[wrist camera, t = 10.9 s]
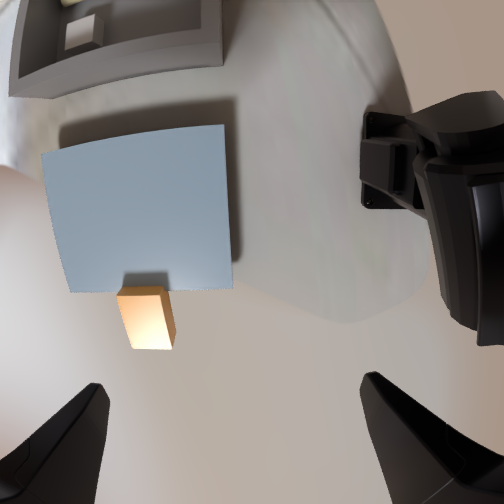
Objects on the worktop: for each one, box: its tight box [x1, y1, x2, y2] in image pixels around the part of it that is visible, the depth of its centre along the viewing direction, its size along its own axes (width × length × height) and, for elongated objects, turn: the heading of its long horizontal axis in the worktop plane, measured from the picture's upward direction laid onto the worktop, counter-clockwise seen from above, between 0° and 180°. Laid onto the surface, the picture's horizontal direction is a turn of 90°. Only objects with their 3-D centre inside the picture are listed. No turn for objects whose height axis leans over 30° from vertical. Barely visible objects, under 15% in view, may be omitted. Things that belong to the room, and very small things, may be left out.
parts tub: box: [9, 0, 223, 99], centre depth 10 cm, size 12×10×5 cm
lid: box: [41, 124, 233, 349], centre depth 18 cm, size 12×14×3 cm
